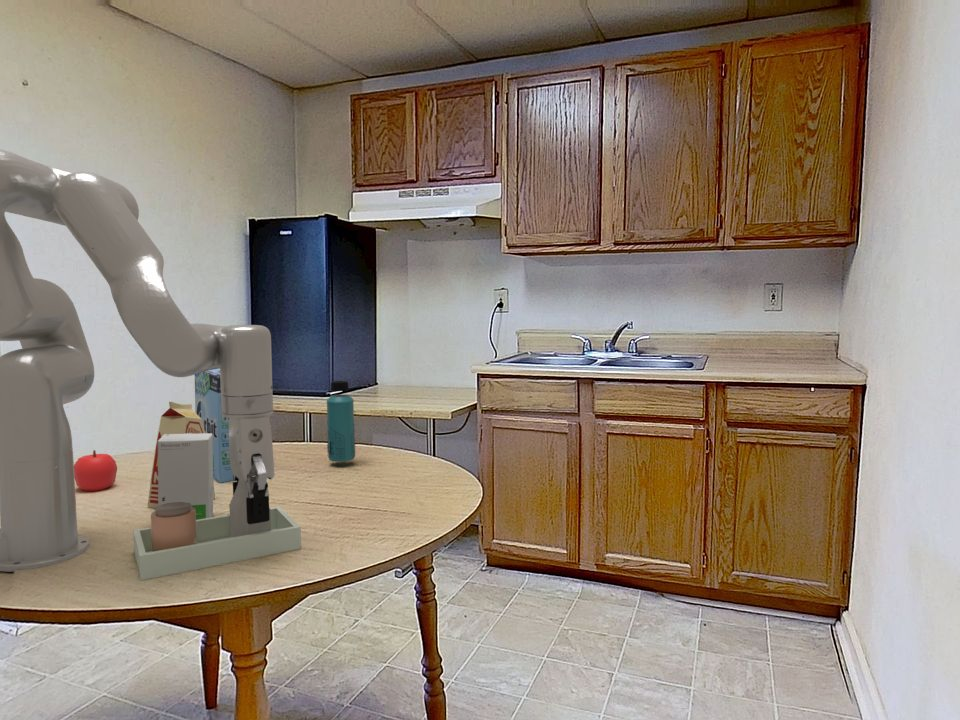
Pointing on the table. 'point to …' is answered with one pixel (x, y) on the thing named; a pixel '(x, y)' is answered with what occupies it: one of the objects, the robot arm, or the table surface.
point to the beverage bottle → (340, 424)
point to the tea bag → (243, 514)
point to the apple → (95, 472)
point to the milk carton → (173, 422)
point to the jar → (173, 526)
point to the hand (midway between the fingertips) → (250, 513)
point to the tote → (215, 546)
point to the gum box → (214, 421)
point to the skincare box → (186, 471)
